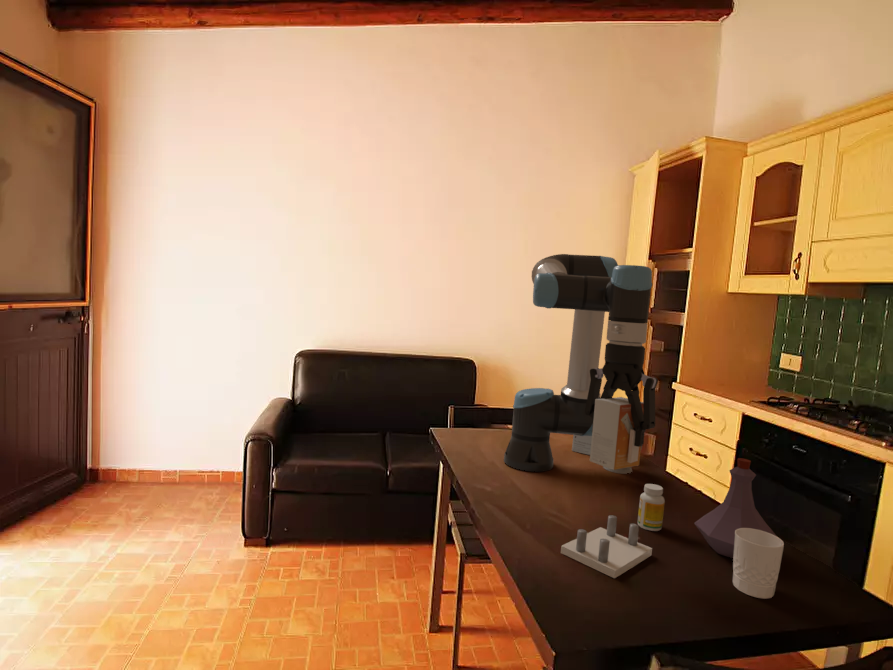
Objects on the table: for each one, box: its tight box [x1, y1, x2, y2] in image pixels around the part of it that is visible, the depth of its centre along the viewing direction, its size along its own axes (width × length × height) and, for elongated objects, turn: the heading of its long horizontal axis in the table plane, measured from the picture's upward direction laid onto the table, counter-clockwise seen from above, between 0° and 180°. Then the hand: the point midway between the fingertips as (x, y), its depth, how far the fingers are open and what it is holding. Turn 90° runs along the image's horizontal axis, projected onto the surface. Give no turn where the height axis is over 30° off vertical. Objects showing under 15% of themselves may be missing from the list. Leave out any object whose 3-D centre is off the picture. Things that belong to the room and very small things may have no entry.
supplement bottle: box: [637, 483, 666, 532], centre depth 124 cm, size 5×5×10 cm
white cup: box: [732, 528, 785, 600], centre depth 99 cm, size 8×8×10 cm
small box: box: [589, 396, 644, 470], centre depth 108 cm, size 8×6×13 cm
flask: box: [694, 457, 777, 559], centre depth 114 cm, size 16×16×20 cm
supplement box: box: [571, 435, 592, 456], centre depth 183 cm, size 10×9×17 cm
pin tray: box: [560, 514, 653, 579], centre depth 109 cm, size 12×15×6 cm
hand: (615, 456), depth 108 cm, fingers closed on small box, 7 cm apart
